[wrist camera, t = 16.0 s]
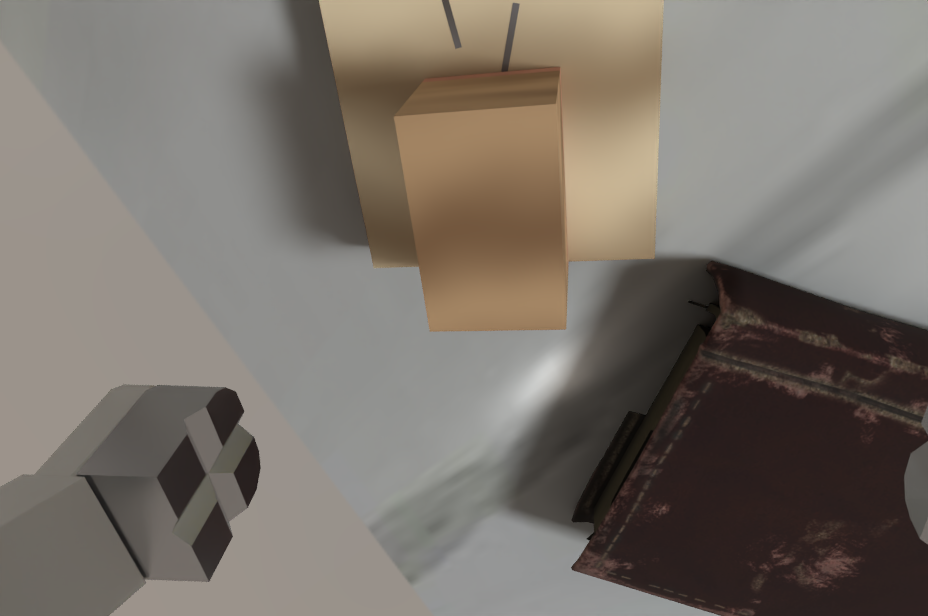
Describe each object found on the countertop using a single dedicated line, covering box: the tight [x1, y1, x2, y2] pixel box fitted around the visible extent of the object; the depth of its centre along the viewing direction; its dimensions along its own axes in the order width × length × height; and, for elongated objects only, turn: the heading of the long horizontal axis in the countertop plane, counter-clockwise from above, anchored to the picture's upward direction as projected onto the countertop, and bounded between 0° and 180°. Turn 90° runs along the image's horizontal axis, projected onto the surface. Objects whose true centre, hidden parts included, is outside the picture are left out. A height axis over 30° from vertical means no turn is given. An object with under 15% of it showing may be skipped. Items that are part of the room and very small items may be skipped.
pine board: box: [319, 0, 664, 268], centre depth 25 cm, size 16×12×2 cm
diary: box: [571, 261, 928, 616], centre depth 33 cm, size 19×25×5 cm
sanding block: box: [394, 67, 568, 332], centre depth 25 cm, size 8×5×5 cm, turn 7°
